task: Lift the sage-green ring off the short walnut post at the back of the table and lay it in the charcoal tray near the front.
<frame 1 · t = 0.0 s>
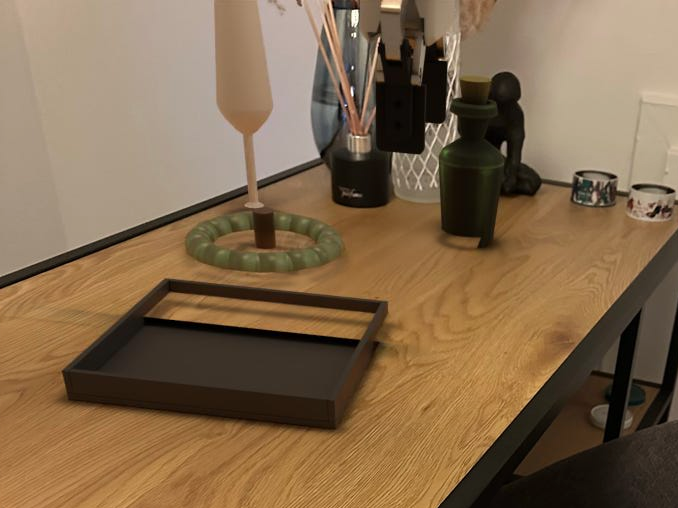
hand: (413, 135, 66), 22 cm above the table, tool pointing down, fingers open, 9 cm apart
tray: (243, 359, 88), on the table
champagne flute: (255, 218, 122), on the table
potion bottle: (467, 242, 120), on the table
ring: (265, 245, 109), point 1 cm above the table
post: (266, 258, 110), on the table
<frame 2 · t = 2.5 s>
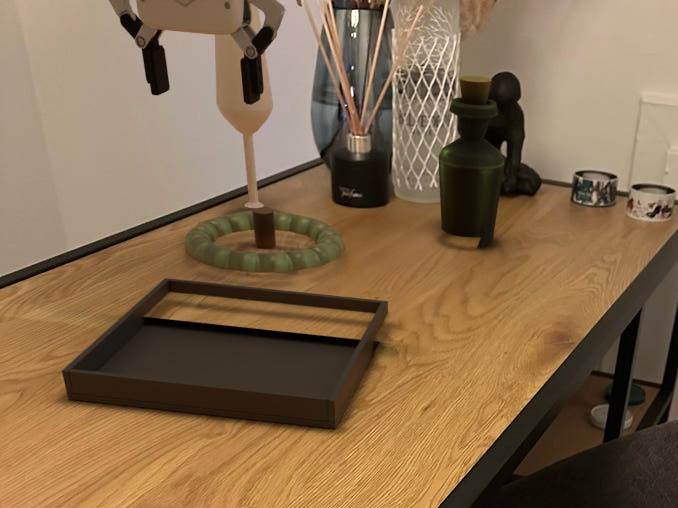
hand: (206, 97, 95), 17 cm above the table, tool pointing down, fingers open, 9 cm apart
nothing on the table moved.
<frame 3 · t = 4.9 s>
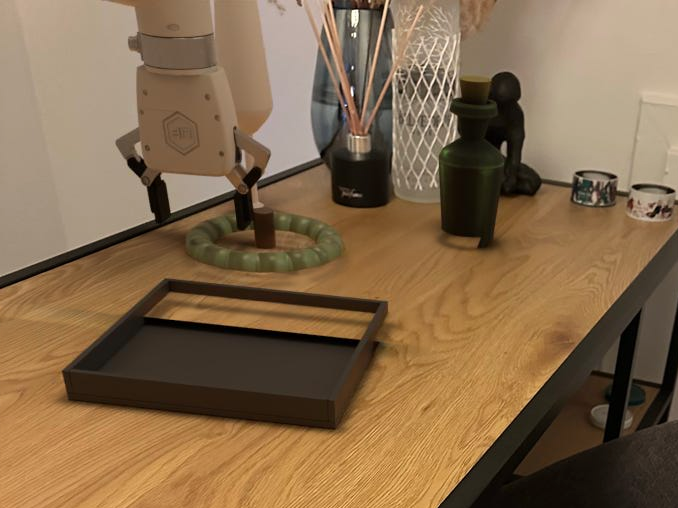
hand: (204, 223, 109), 3 cm above the table, tool pointing down, fingers open, 9 cm apart
nothing on the table moved.
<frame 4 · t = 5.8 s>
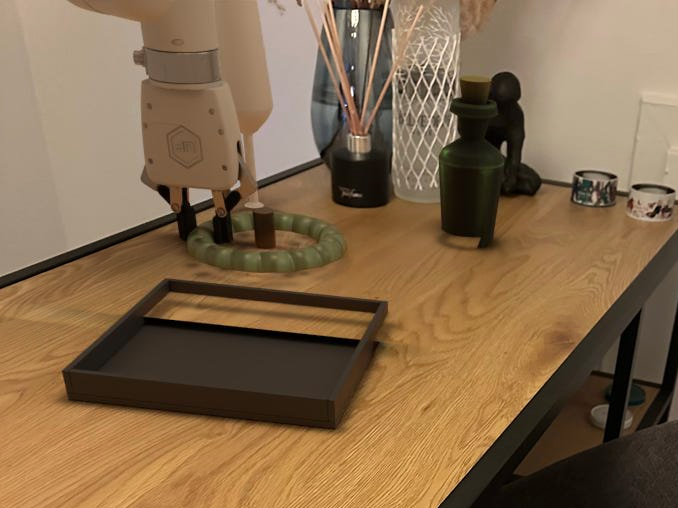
hand: (207, 246, 110), 1 cm above the table, tool pointing down, fingers closed on ring, 3 cm apart
ring: (267, 244, 109), point 2 cm above the table, touching gripper
everything else where it was.
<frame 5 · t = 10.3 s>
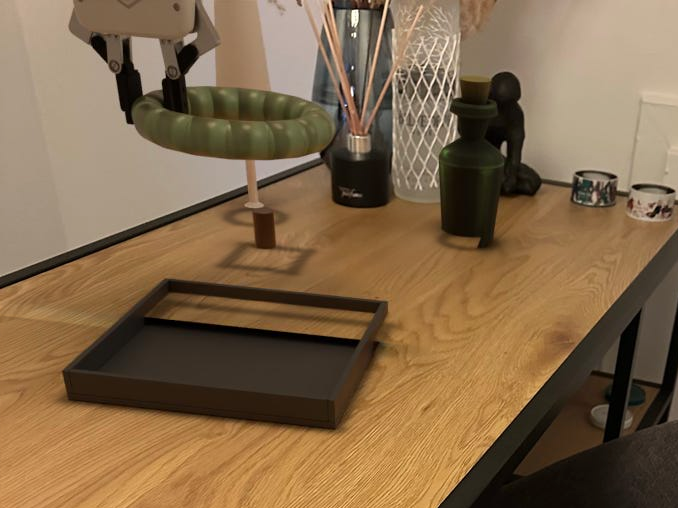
hand: (156, 121, 87), 17 cm above the table, tool pointing down, fingers closed on ring, 3 cm apart
ring: (235, 121, 86), point 18 cm above the table, touching gripper
everything else where it was.
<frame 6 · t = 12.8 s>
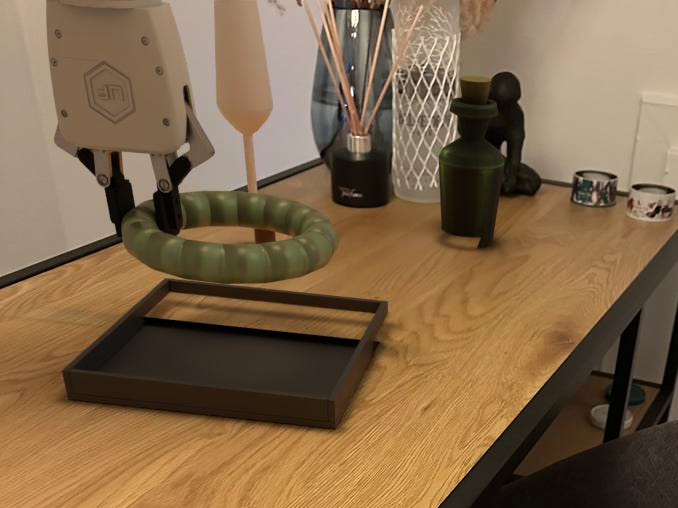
hand: (149, 233, 82), 11 cm above the table, tool pointing down, fingers closed on ring, 3 cm apart
ring: (232, 234, 81), point 11 cm above the table, touching gripper
everything else where it was.
when the fingers open (2 cm above the table, at t = 14.9 s): ring stays where it is, resting on tray.
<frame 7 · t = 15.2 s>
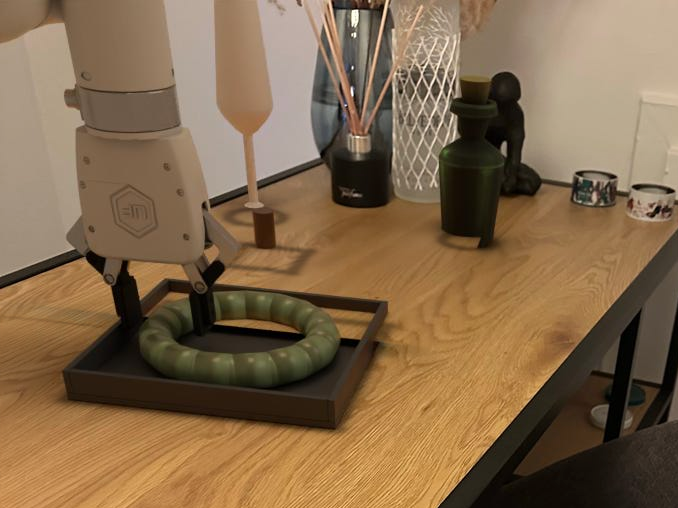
hand: (168, 326, 87), 2 cm above the table, tool pointing down, fingers open, 6 cm apart
ring: (241, 337, 87), point 2 cm above the table, touching tray
everything else where it was.
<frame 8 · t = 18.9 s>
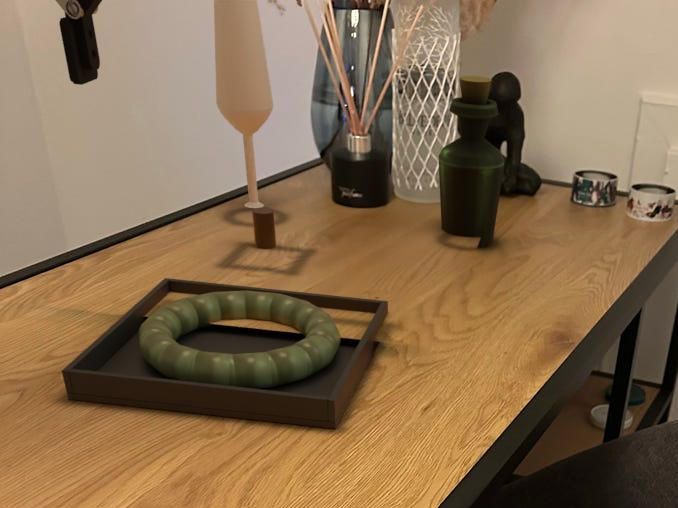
hand: (21, 75, 68), 23 cm above the table, tool pointing down, fingers open, 9 cm apart
nothing on the table moved.
at the end: ring inside the target area in the tray (0.1 cm from its centre), point 2.1 cm above the tray's base; the gripper is holding nothing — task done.
